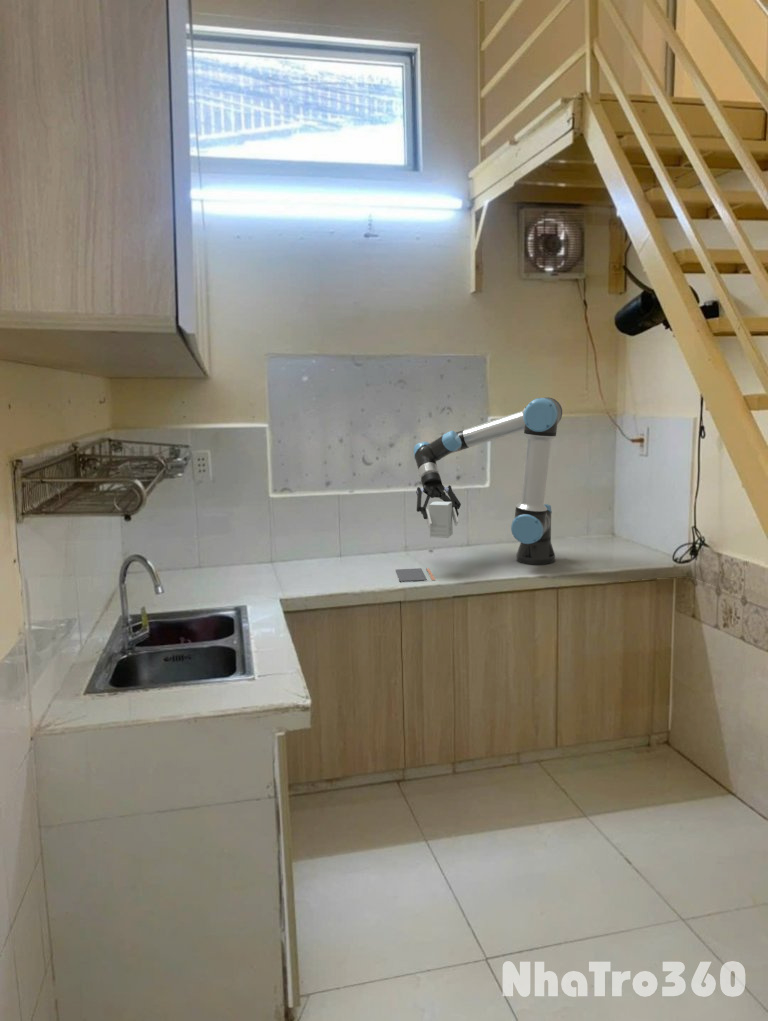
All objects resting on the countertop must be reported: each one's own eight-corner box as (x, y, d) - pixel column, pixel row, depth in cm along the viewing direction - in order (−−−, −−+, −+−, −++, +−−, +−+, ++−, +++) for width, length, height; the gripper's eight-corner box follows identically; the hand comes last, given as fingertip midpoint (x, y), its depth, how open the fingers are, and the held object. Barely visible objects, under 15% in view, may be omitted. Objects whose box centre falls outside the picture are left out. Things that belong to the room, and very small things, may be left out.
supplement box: (453, 534, 261) (452, 501, 259) (448, 538, 254) (448, 504, 252) (434, 533, 263) (433, 500, 261) (429, 537, 257) (428, 504, 254)
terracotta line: (429, 569, 267) (429, 568, 267) (435, 580, 251) (435, 579, 251) (426, 569, 267) (426, 568, 267) (432, 580, 251) (432, 579, 251)
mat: (421, 569, 267) (421, 568, 266) (426, 580, 251) (426, 579, 251) (395, 570, 266) (395, 569, 266) (399, 582, 250) (399, 580, 250)
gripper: (455, 481, 273) (469, 528, 261) (400, 484, 268) (412, 532, 255) (459, 469, 267) (474, 516, 254) (404, 472, 262) (416, 520, 249)
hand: (443, 524), depth 255 cm, fingers closed on supplement box, 10 cm apart
